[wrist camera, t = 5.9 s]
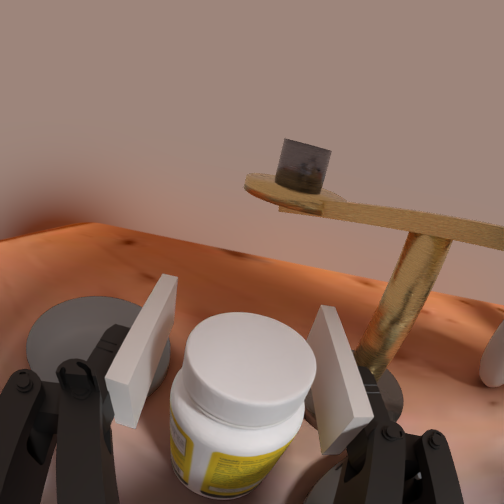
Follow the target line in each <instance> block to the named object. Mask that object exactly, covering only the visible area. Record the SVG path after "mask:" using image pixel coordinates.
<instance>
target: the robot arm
mask: <svg viewBox="0 0 504 504" xmlns="http://www.w3.org/2000/svg"><path fill="white" fill-rule="evenodd" d="M177 283H178V277H176V276H171V275H167V274H162V275H161V277H160V279H159V280H158V282H157V284H156V285H155V287H154V289H153V290H152V292H151V294H150V296H149V297H148V299H147V301H146V302H145V304H144V306H143V308H142V309H141V311H140V313H139V315H138V316H137V318H136V320H135V322H134V323H133V325H132V327H131V328H129V327H125V326H122V325H118V324H114V325H113V326H111V327H110V328H108V329H107V330H106V331H105V332H104V334H103V335H102V337H101V338H100V341H99V342H98V343H97V345H96V348H94V350H93V351H92V353H91V355H90V356H89V358H88V359H87V361H85V360H82V359H78V358H75V359H68V360H66V361H63V362H62V363H61V364H60V365H59V366H58V367H57V370H56V372H55V373H56V375H57V378H58V381H59V383H55V382H47V381H41V379H40V377H39V376H38V375H37V373H35V372H34V371H32V370H28V369H22V370H18V371H16V372H14V373H13V374H12V375H11V377H10V378H9V380H8V382H7V383H6V385H5V387H4V389H3V391H2V393H1V394H0V504H40V502H41V497H42V493H43V489H44V485H45V481H46V477H47V473H48V470H49V466H50V463H51V459H52V456H53V453H54V449H55V446H56V443H57V449H56V486H57V504H120V503H119V497H118V490H117V483H116V475H115V466H114V455H113V443H112V430H111V426H110V425H111V422H112V420H113V417H115V421H116V423H118V424H121V425H124V426H127V427H130V428H134V429H136V426H137V423H138V420H139V417H140V414H141V411H142V408H143V406H144V403H145V400H146V397H147V394H148V391H149V388H150V386H151V383H152V380H153V377H154V374H155V372H156V369H157V366H158V363H159V361H160V358H161V355H162V353H163V350H164V347H165V345H166V342H167V339H168V337H169V334H170V332H171V329H172V326H173V324H174V316H175V304H176V293H177ZM306 342H307V343H308V344H309V346H310V347H311V349H312V351H313V353H314V356H315V359H316V375H315V379H314V381H313V383H312V385H311V390H312V396H313V402H314V408H315V414H316V421H317V427H318V433H319V440H320V447H321V453H322V455H335V454H340V453H341V452H342V451H343V450H344V449H345V448H347V453H348V456H347V457H346V458H344V459H343V460H342V461H341V462H340V463H339V464H338V465H337V466H336V468H335V470H338V469H339V468H341V467H342V469H341V474H340V478H339V482H338V486H337V490H336V494H335V498H334V502H333V504H464V502H463V497H462V493H461V489H460V485H459V481H458V477H457V473H456V470H455V466H454V462H453V459H452V456H451V452H450V449H449V446H448V443H447V440H446V438H445V436H444V435H443V434H442V433H441V432H439V431H437V430H433V429H431V430H427V431H426V432H425V433H424V434H423V435H422V436H417V435H412V434H407V433H405V432H404V430H403V429H402V427H401V426H400V425H399V424H397V423H396V422H393V421H391V420H390V418H389V415H388V412H387V409H386V407H385V404H384V401H383V398H382V396H381V394H380V390H379V388H378V386H377V382H376V380H375V377H374V375H373V374H372V373H371V371H370V370H369V369H368V368H367V367H365V366H357V364H356V362H355V359H354V356H353V353H352V350H351V348H350V345H349V342H348V340H347V337H346V334H345V331H344V329H343V326H342V324H341V321H340V318H339V316H338V313H337V311H336V308H335V307H333V306H326V305H320V308H319V310H318V313H317V315H316V318H315V320H314V323H313V325H312V328H311V330H310V332H309V335H308V337H307V340H306ZM418 473H421V479H420V478H419V477H418Z"/></svg>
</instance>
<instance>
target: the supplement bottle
mask: <svg viewBox="0 0 504 504" xmlns="http://www.w3.org/2000/svg"><path fill="white" fill-rule="evenodd" d="M315 375H316V359H315V356H314V353H313V351H312V349H311V347H310V346H309V344H308V343H307V342H306V340H305V339H304V338H303V337H302V336H301V335H300V334H299V333H297V332H296V331H295V330H293V329H292V328H291V327H289V326H287V325H285V324H283V323H282V322H280V321H277V320H275V319H272V318H269V317H266V316H263V315H259V314H254V313H246V312H230V313H222V314H218V315H215V316H211V317H209V318H207V319H205V320H203V321H202V322H200V323H199V324H198V325H197V326H196V327H195V328H194V329H193V330H192V332H191V333H190V335H189V337H188V339H187V343H186V347H185V354H184V361H183V366H182V368H181V369H180V370H179V371H178V373H177V375H176V376H175V379H174V381H173V384H172V388H171V393H170V448H171V463H172V467H173V470H174V472H175V474H176V476H177V477H178V479H179V480H180V481H181V482H182V483H183V484H184V485H185V486H186V487H187V488H189V489H190V490H191V491H193V492H195V493H197V494H199V495H202V496H204V497H207V498H211V499H218V500H229V499H235V498H239V497H242V496H244V495H246V494H248V493H250V492H251V491H253V490H254V489H255V488H256V487H257V486H258V485H259V484H260V483H261V482H262V481H263V479H264V478H265V477H266V475H267V474H268V473H269V471H270V470H271V469H272V468H273V466H274V465H275V464H276V462H277V461H278V459H279V458H280V457H281V455H282V454H283V453H284V451H285V450H286V448H287V447H288V446H289V444H290V443H291V441H292V440H293V439H294V437H295V436H296V434H297V432H298V431H299V429H300V426H301V424H302V421H303V418H304V412H305V404H304V399H305V397H306V395H307V394H308V392H309V389H310V387H311V385H312V383H313V381H314V379H315Z"/></svg>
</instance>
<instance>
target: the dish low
mask: <svg viewBox="0 0 504 504" xmlns="http://www.w3.org/2000/svg"><path fill="white" fill-rule="evenodd" d="M141 309H142V307H140V306H138V305H136V304H134V303H131V302H129V301H125V300H122V299H118V298H112V297H103V296H90V297H81V298H76V299H72V300H68V301H65V302H63V303H60V304H58V305H56V306H54V307H52V308H51V309H49V310H48V311H46V312H45V313H44V314H43V315H41V316H40V318H39V319H38V320H37V321H36V322H35V324H34V325H33V326H32V328H31V330H30V332H29V335H28V338H27V344H26V354H27V359H28V362H29V365H30V368H31V370H32V371H34V372H35V373H37V375H38V376H39V377H40V379H41V381H47V382H55V383H59V381H58V378H57V375H56V373H55V372H56V370H57V367H58V366H59V365H60V364H61V363H62V362H63V361H66V360H68V359H75V358H78V359H82V360H85V361H87V359H88V358H89V356H90V355H91V353H92V351H93V350H94V348H96V345H97V343H98V342H99V341H100V338H101V337H102V335H103V334H104V332H105V331H106V330H107V329H108V328H110V327H111V326H113V325H114V324H118V325H122V326H125V327H129V328H131V327H132V325H133V323H134V322H135V320H136V318H137V316H138V315H139V313H140V311H141ZM169 363H170V341H169V337H168V339H167V342H166V345H165V347H164V350H163V353H162V355H161V358H160V361H159V363H158V366H157V369H156V372H155V374H154V377H153V380H152V383H151V386H150V388H149V391H148V394H147V397H148V396H149V395H151V394H152V393H153V392H154V391H155V390H156V389H157V388H158V387H159V385H160V384H161V383H162V381H163V380H164V378H165V376H166V374H167V371H168V368H169ZM147 397H146V398H147Z"/></svg>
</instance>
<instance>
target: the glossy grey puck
mask: <svg viewBox="0 0 504 504" xmlns="http://www.w3.org/2000/svg"><path fill="white" fill-rule="evenodd" d="M339 463H340V462H339ZM339 463H338V464H339ZM338 464H336V465H335V466H334V467H333V468H331V469H330V470H329V471H328V472H327V473H326V474H325V475H324V476H322V477H321V478H320V479H319V480H318V481H317V483H316V484H315V485H314V486H313V488H312V489H311V490H310V492H309V493H308V495H307V497H306V498H305V500H304V503H303V504H333V502H334V498H335V494H336V490H337V486H338V482H339V478H340V474H341V469H342V467H341V468H339V469H338V470H335V468H336V466H337V465H338ZM418 477H419V478H420V479H421V473H418Z"/></svg>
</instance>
